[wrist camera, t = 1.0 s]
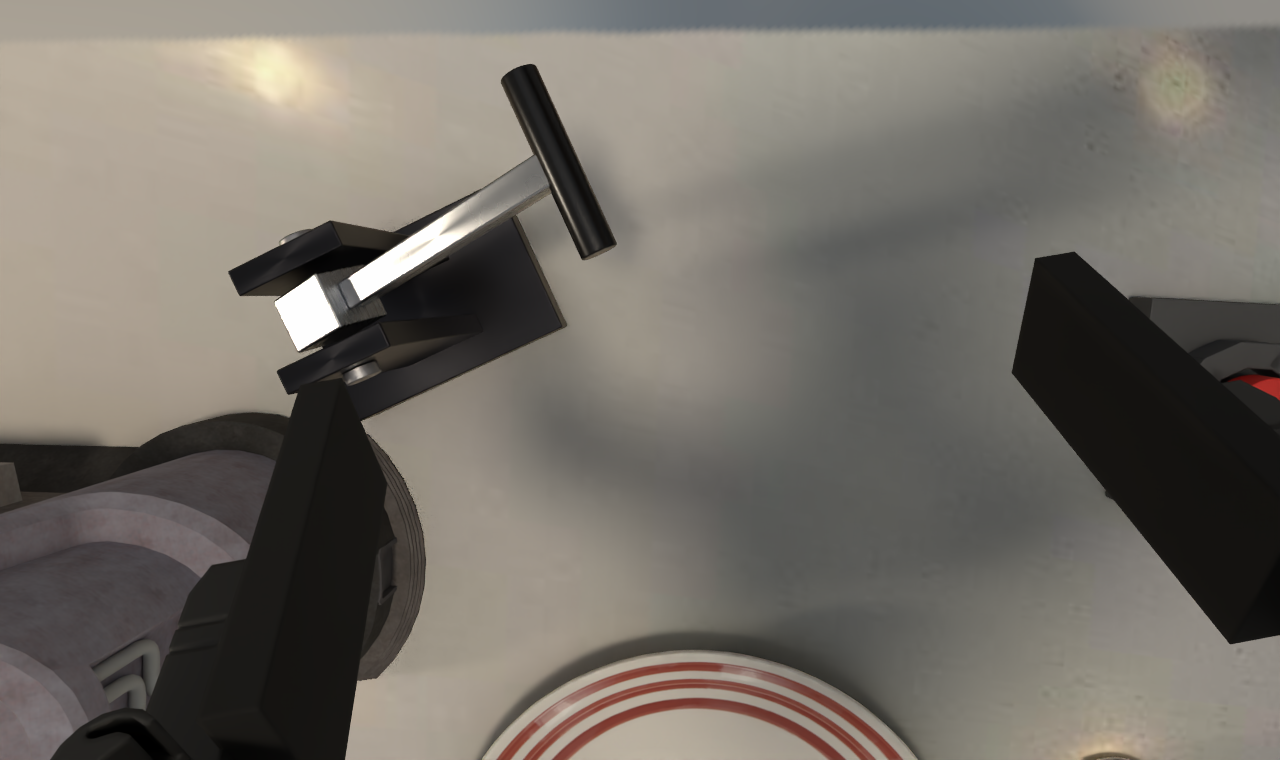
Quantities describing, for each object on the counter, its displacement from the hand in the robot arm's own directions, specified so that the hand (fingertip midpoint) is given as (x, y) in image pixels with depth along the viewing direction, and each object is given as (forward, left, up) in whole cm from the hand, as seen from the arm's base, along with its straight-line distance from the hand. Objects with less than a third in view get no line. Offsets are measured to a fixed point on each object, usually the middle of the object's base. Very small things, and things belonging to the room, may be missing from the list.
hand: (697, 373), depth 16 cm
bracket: (+12, -9, -27) cm, 31 cm away
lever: (+6, -8, -14) cm, 17 cm away
